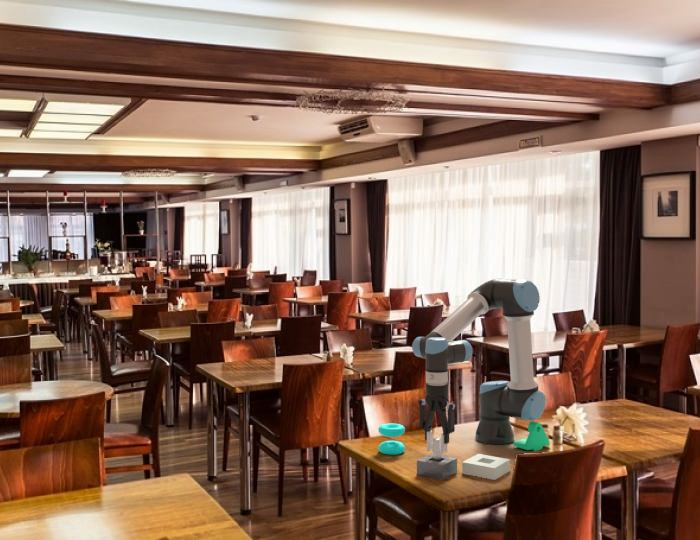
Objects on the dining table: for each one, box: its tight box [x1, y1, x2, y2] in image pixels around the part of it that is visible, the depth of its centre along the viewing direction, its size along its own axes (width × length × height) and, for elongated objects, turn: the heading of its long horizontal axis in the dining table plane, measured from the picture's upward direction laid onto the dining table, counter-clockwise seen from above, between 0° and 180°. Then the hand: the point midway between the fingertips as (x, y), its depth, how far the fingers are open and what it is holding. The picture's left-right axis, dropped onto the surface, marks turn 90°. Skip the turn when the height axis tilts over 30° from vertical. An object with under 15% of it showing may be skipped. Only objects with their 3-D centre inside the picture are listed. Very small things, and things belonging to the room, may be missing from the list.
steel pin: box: [432, 437, 442, 462], centre depth 254 cm, size 3×3×12 cm
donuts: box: [378, 422, 406, 456], centre depth 281 cm, size 10×10×10 cm
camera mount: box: [512, 421, 550, 451], centre depth 285 cm, size 12×8×10 cm, turn 125°
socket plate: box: [461, 453, 511, 481], centre depth 255 cm, size 12×12×4 cm
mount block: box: [416, 452, 458, 481], centre depth 254 cm, size 10×10×5 cm
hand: (437, 451), depth 254 cm, fingers open, 5 cm apart
